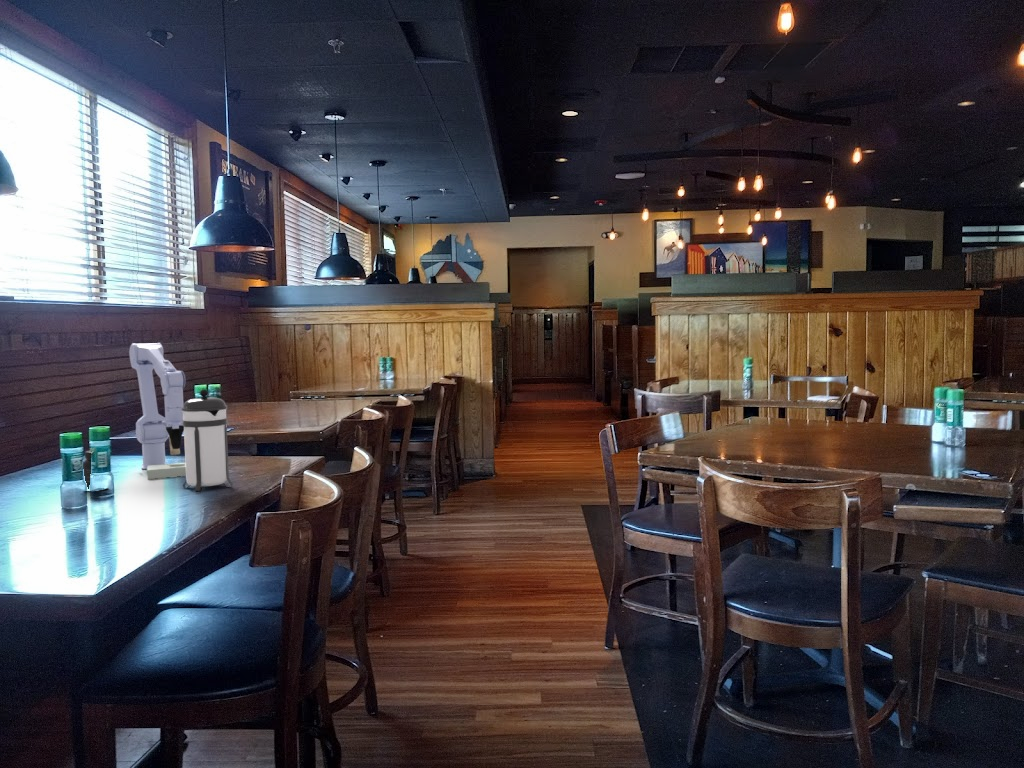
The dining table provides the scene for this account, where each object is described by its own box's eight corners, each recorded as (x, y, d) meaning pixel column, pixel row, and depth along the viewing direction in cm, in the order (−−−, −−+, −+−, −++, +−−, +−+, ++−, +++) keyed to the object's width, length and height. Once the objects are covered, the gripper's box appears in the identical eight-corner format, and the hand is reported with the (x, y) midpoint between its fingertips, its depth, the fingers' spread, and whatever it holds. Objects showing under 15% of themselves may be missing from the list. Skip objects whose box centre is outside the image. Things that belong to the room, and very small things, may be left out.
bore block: (147, 474, 254) (147, 465, 254) (205, 469, 262) (205, 460, 261) (147, 479, 245) (147, 470, 245) (207, 474, 252) (206, 465, 252)
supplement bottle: (84, 489, 231) (82, 450, 230) (109, 486, 234) (107, 448, 233) (82, 493, 224) (79, 453, 224) (108, 490, 227) (106, 451, 226)
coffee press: (244, 482, 237) (240, 387, 235) (219, 493, 221) (215, 391, 219) (191, 482, 239) (187, 387, 237) (163, 492, 223) (158, 391, 221)
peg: (170, 453, 253) (169, 436, 253) (180, 452, 255) (178, 435, 254) (170, 455, 251) (168, 437, 250) (180, 454, 252) (178, 436, 251)
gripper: (160, 406, 257) (162, 446, 257) (161, 410, 243) (163, 451, 244) (183, 405, 260) (185, 444, 260) (184, 408, 246) (186, 450, 247)
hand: (176, 448), depth 253 cm, fingers closed on peg, 3 cm apart
